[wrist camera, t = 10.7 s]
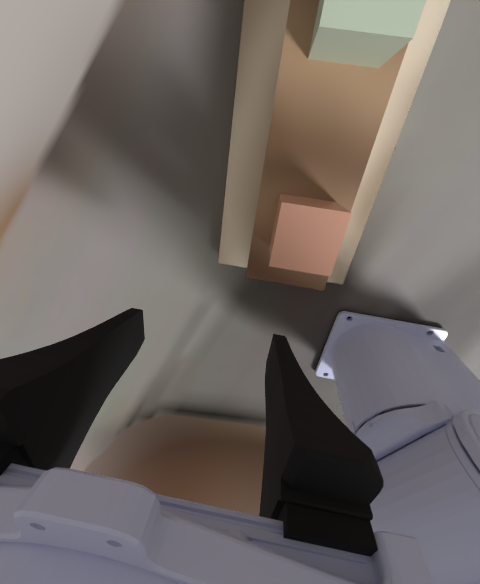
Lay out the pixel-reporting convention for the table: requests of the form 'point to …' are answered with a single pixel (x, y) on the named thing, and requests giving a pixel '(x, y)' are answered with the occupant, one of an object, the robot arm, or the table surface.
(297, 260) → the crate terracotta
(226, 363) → the table surface
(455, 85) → the table surface
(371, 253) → the table surface
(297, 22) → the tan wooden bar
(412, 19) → the pale green cube
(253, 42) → the dock
